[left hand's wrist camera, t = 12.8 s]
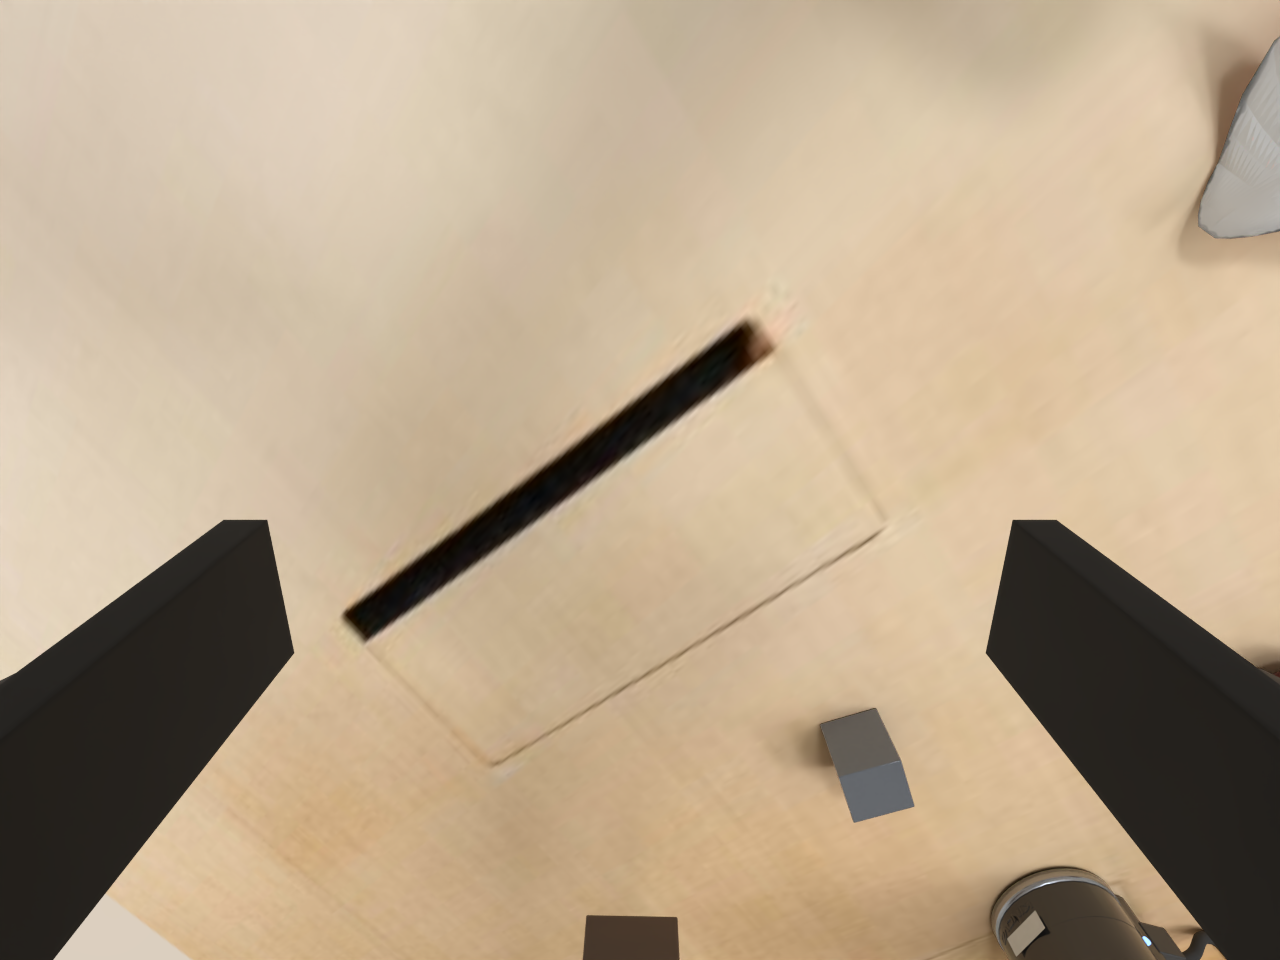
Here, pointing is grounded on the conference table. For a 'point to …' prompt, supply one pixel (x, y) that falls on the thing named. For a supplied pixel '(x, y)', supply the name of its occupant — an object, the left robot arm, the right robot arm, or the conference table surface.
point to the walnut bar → (631, 938)
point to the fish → (1249, 162)
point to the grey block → (867, 765)
